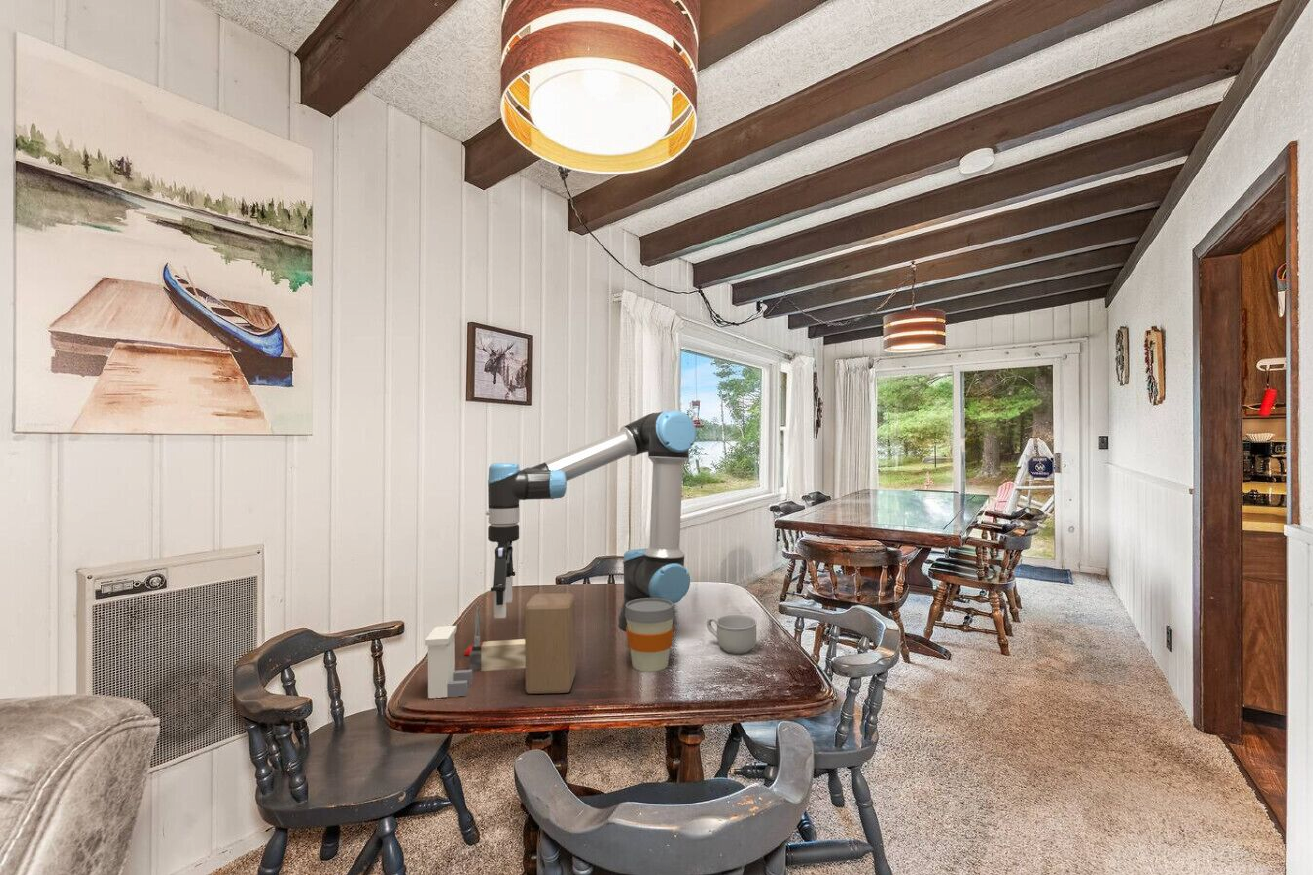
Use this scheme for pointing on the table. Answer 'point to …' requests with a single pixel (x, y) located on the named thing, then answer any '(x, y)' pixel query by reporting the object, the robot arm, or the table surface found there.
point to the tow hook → (477, 644)
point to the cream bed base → (445, 665)
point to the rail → (499, 656)
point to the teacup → (734, 632)
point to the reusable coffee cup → (650, 632)
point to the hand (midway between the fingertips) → (503, 609)
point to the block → (550, 643)
